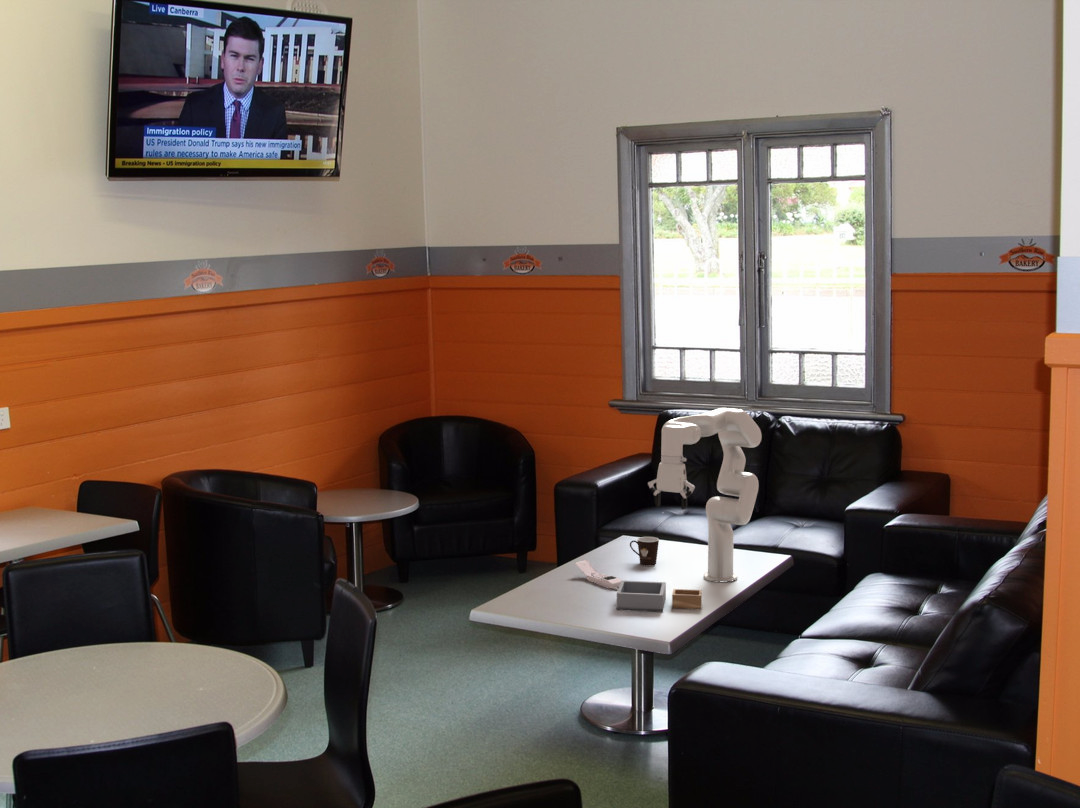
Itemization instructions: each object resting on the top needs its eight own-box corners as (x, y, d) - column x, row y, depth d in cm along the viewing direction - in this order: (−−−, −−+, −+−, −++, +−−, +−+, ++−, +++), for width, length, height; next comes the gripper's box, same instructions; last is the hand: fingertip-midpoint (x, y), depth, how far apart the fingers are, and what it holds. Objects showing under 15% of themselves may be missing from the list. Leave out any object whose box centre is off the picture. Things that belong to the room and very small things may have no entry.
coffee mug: (663, 564, 458) (663, 540, 457) (646, 567, 453) (646, 543, 452) (644, 558, 468) (644, 534, 466) (628, 561, 463) (628, 537, 462)
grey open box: (621, 596, 415) (621, 580, 415) (665, 598, 413) (665, 582, 412) (616, 609, 400) (616, 593, 399) (662, 612, 397) (662, 595, 396)
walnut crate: (673, 602, 408) (673, 588, 407) (701, 603, 406) (701, 590, 405) (672, 608, 401) (672, 594, 400) (701, 609, 399) (701, 595, 399)
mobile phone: (586, 559, 445) (627, 573, 425) (586, 574, 446) (627, 588, 426) (573, 562, 442) (614, 576, 421) (574, 577, 442) (615, 591, 422)
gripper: (698, 460, 405) (697, 507, 407) (652, 456, 413) (651, 503, 415) (691, 463, 399) (690, 511, 400) (645, 459, 406) (644, 507, 408)
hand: (670, 507), depth 408 cm, fingers open, 9 cm apart
